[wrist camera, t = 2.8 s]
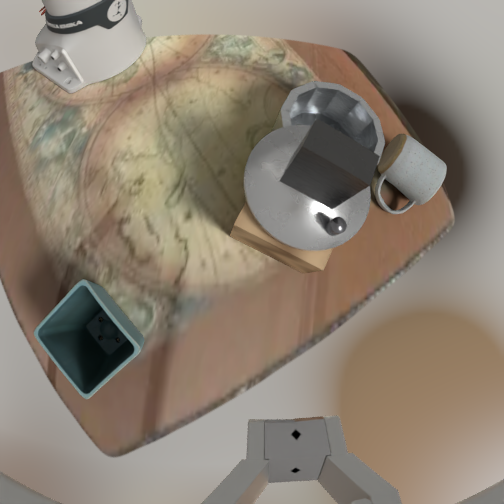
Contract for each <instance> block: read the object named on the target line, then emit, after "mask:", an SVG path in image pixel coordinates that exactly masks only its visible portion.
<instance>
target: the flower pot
mask: <svg viewBox="0 0 504 504" xmlns="http://www.w3.org/2000/svg"><path fill="white" fill-rule="evenodd" d="M100 317H101V318H103V321H102V322H101V321H99V318H100ZM34 335H35V337H36V339H37V340H38V342H39V343H40V344H41V346H42V347H43V349H44V350H45V351H46V352H47V354H48V355H49V356H50V358H51V359H52V360H53V362H54V363H55V364H56V365H57V367H58V368H59V369H60V370H61V372H62V373H63V374H64V375H65V377H66V378H67V379H68V380H69V382H70V383H71V384H72V385H73V386H74V388H75V389H76V390H77V391H78V393H79V394H80V395H81V396H82V397H84V398H85V399H89V398H90V397H91V396H92V395H93V394H94V393H95V392H97V391H98V390H99V389H100V388H101V387H102V386H103V385H104V384H105V383H106V382H107V381H108V380H109V379H111V378H112V377H113V376H114V375H115V374H116V373H117V372H118V371H119V370H121V369H122V368H123V367H124V366H125V365H126V364H128V363H129V362H130V361H131V360H132V359H133V358H135V357H136V356H137V355H138V354H139V353H140V351H141V349H142V346H143V344H144V337H143V335H142V334H141V333H140V331H139V330H138V329H137V328H136V327H135V326H134V325H133V323H132V322H131V321H130V320H129V319H128V318H127V316H126V315H125V314H124V313H123V312H122V310H121V309H120V308H119V307H118V305H117V304H116V303H115V302H114V300H113V299H112V298H111V297H110V295H109V294H108V293H107V291H106V290H105V289H104V288H103V287H101V286H100V285H97V284H95V283H93V282H90V281H88V280H85V279H82V280H80V281H79V282H78V283H77V284H76V285H75V286H74V287H73V288H72V289H71V290H70V291H69V292H68V294H67V295H66V296H65V297H64V298H63V299H62V300H61V301H60V302H59V303H58V304H57V305H56V307H55V308H54V309H53V310H52V311H51V312H50V313H49V314H48V315H47V316H46V317H45V319H43V321H42V322H41V323H40V324H39V325H38V326H37V327H36V329H35V330H34ZM99 336H102V337H103V339H102V340H100V338H99ZM116 338H119V339H120V341H119V342H117V341H116Z"/></svg>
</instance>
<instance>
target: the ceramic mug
mask: <svg viewBox="0 0 504 504" xmlns="http://www.w3.org/2000/svg"><path fill="white" fill-rule="evenodd" d="M378 171H379V172H380V174H381V177H380V178H379V179H378V181H377V184H376V188H375V197H376V200H377V202H378V204H379V205H380V206H381V207H382V208H383V209H384V210H385V211H387V212H389V213H392V214H400V213H403V212H405V211H407V210H408V209H409V208H410V207H412V205H413V204H416V205H422V204H424V203H425V202H427V201H428V200H429V199H431V198H432V197H433V195H434V194H435V193H436V192H437V191H438V189H439V187H440V186H441V184H442V182H443V180H444V178H445V175H446V165H445V163H444V162H443V161H442V160H440V159H439V158H438V157H436V156H435V155H434V154H433V153H431V152H430V151H429V150H428V149H426V148H425V147H424V146H422V145H421V144H420V143H419V142H417V141H416V140H415V139H413V138H412V137H410V136H408V135H406V134H399V135H397V136H396V137H395V138H393V140H392V141H391V142H390V143H389V144H388V146H387V147H386V149H385V150H384V152H383V154H382V155H381V158H380V161H379V164H378ZM384 179H386V180H387V181H388V182H389V183H391V184H393V185H394V186H395V187H396V188H397V189H398V190H399V191H401V192H402V193H403V194H404V195H405V196H406V197H407V198H408V199H409V200H410V201H409V202H408V203H407V205H405V206H404V207H403V208H401V209H400V210H395V211H394V210H392V209H390V208H389V207H388V206H387V205H386V204H385V203H384V200H383V199H382V198H381V195H380V187H381V185H382V182H383V181H384Z"/></svg>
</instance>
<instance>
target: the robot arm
mask: <svg viewBox="0 0 504 504" xmlns="http://www.w3.org/2000/svg"><path fill="white" fill-rule="evenodd" d="M42 2H43V4H44V7H43V8H42V9H41V10H40V11H42V10H43V9H44V8H46V9H45V10H44V11H43V12H42V14H41V15H43V14H44V13H45V16H46V24H45V26H44V27H43V29H42V30H41V31H40V33H39V34H38V36H37V38H36V42H35V43H36V47H37V49H38V51H39V52H38V53H37V55H36V57H35V58H34V61H33V63H32V65H33V67H34V69H36V70H37V71H38V72H40V73H41V74H43V75H44V76H45V77H47V78H48V79H50V80H51V81H52V82H54V83H55V84H57V85H58V86H59V87H61V88H62V89H64V90H65V91H66V92H68V93H74V92H76V91H78V90H80V89H81V88H83V87H85V86H86V85H88V84H91V83H95V82H99V81H103V80H106V79H108V78H111V77H113V76H115V75H117V74H119V73H120V72H122V71H124V70H125V69H127V68H128V67H129V66H131V65H132V64H133V63H134V62H135V61H136V60H137V59H138V58H139V57H140V55H141V54H142V52H143V50H144V48H145V46H146V36H145V34H144V32H143V30H142V28H141V25H142V20H141V17H140V16H138V15H137V14H136V12H135V9H134V6H133V3H132V1H131V0H42ZM40 11H39V12H40ZM247 437H248V438H247V459H245V460H241V461H240V462H239V464H238V465H237V466H236V467H235V468H234V469H233V470H232V471H231V473H230V474H229V475H228V476H227V477H226V478H225V479H224V480H223V481H222V483H220V485H219V486H218V487H217V488H216V489H215V490H214V491H213V492H212V493H211V494H210V495H209V496H208V497H207V498H206V499H205V500H204V501H203V502H202V503H201V504H254V503H255V502H256V500H257V499H258V498H259V496H260V495H261V493H262V492H263V491H264V489H265V488H266V486H267V485H268V483H274V482H290V481H309V480H318V482H319V483H320V484H321V485H322V486H323V488H325V490H326V491H327V492H328V493H329V494H330V495H331V497H332V498H333V499H334V500H335V501H336V502H337V503H338V504H402V503H401V500H400V496H399V492H398V490H397V489H396V488H394V487H393V486H392V485H391V484H389V483H388V482H387V481H386V480H384V479H383V478H382V477H380V476H379V475H378V474H377V473H376V472H374V471H373V470H372V469H371V468H370V467H368V466H367V465H366V464H365V463H364V462H362V461H361V460H360V459H359V458H358V457H357V456H355V455H354V454H353V453H348V452H347V447H346V442H345V438H344V434H343V430H342V425H341V421H340V418H339V416H337V415H336V416H328V417H312V418H299V419H286V420H255V419H250V420H249V422H248V436H247ZM0 504H62V503H59V502H57V501H55V500H53V499H51V498H48V497H46V496H44V495H42V494H40V493H38V492H36V491H34V490H32V489H30V488H29V487H27V486H25V485H23V484H21V483H20V482H18V481H16V480H14V479H13V478H11V477H9V476H7V475H6V474H4V473H3V472H1V471H0ZM456 504H504V479H503V480H501V481H499V482H497V483H496V484H494V485H492V486H490V487H488V488H486V489H485V490H483V491H481V492H479V493H477V494H475V495H473V496H471V497H469V498H467V499H464V500H462V501H460V502H458V503H456Z"/></svg>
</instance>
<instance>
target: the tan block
mask: <svg viewBox="0 0 504 504" xmlns="http://www.w3.org/2000/svg"><path fill="white" fill-rule="evenodd" d="M230 237H232V238H234V239H236V240H238V241H240V242H242V243H244V244H246V245H248V246H250V247H252V248H254V249H256V250H258V251H260V252H262V253H264V254H266V255H268V256H270V257H272V258H274V259H276V260H278V261H280V262H282V263H284V264H286V265H288V266H290V267H292V268H294V269H296V270H298V271H300V272H301V273H310V272H317V271H323V270H324V268H325V265H326V263H327V261H328V258H329V256H330V254H331V251H332V249H333V248H331V249H327V250H323V251H303V250H298V249H294V248H291V247H289V246H286V245H284V244H282V243H280V242H279V241H277V240H275V239H274V238H273V237H271V236H270V235H269V234H267V233H266V232H265V231H264V230H263V229H262V228H261V226H260V225H259V224H258V223H257V221H256V220H255V218H254V217H253V215H252V213H251V212H250V209H249V207H248V204H247V202H245V204H244V206H243V208H242V210H241V212H240V214H239V216H238V218H237V219H236V221H235V223H234V226H233V228H232V231H231V234H230Z"/></svg>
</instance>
